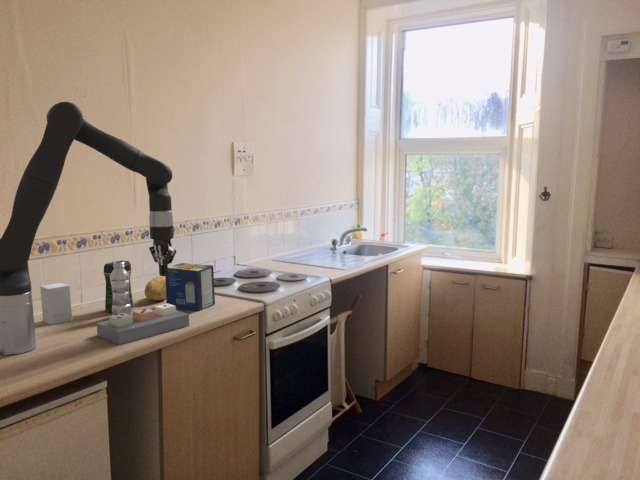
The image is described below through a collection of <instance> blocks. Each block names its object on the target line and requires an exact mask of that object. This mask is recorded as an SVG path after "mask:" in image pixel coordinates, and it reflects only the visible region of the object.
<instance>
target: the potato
mask: <svg viewBox="0 0 640 480" xmlns="http://www.w3.org/2000/svg"><path fill="white" fill-rule="evenodd" d="M144 295H145V297H146V298H147V299H148V300H151V301H162V300H164V299H166V279H165V276H160V275H159V276H155V277H153V278H152V279H150V280H149V281H147V284H146V285H145V287H144Z"/></svg>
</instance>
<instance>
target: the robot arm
mask: <svg viewBox="0 0 640 480" xmlns="http://www.w3.org/2000/svg"><path fill="white" fill-rule="evenodd" d="M74 141H77V142H79V143H81V144H84V145H85V146H87V147H90V148H91V149H93V150H95V151H97V152H98V153H100V154H102V155H104V156H105V157H107V158H108V159H110V160H112V161H114V163H117V164H118V165H120V166H122V167H123V168H126V169H128V170H129V171H131V172H134V173H137V174H140V175H141V176H142V177H144V178H145V181H146V188H147V193H148V200H149V201H148V205H149V206H148V207H149V208H148V209H149V215H148V216H149V217H148V222H149V223H148V224H149V225H148V227H149V238H150V239H151V240H152V241H153V242H152V246H149V252H150V254H151V257H152V259H153V261H154V263H157V265H158V274H159V276H167V275H168V267H169V266H168V265H169V264H172V263H173V261H174V258H175V256H176V254H177V250H176V249H174V248H173V247H172V241H171V240H172V239H174V237H175V236H174V235H175V234H174V216H173V210H172V197H171V194H170V193H169V189H168V185H169V184H170V183H171V181H172V179H173V171H172V169H171V168H170V166H169V165H167V163H164V162H162V161H160V160H158V159H156V158H154V157H152V156H150V155H149V154H146V153H145V152H143V151H141V149H138V148H137V147H135V146H133V145H132V144H129V143H128V142H127V141H124V140H122V139H121V138H118V137H117V136H114V135H111V134H110V133H107V132H105V131H103V130H101V129H99V128H97V127H96V126H94V125H93V124H91V123H89V121H87V120H86V119H85V118H84V115H83V113H82V111H81V109H80V107H78V105H76V104H75V103H73V102H69V101H60V102H57V103H55V104H54V105H52V107H50V108H49V110H48V111H47V113H46V126H45V129H44V133H43V136H42V139H41V141H40V143H39V145H38V147H37V149H35V150H36V151H35V152H34V154H33V155H32V157H31V159H30V160H29V162H28V163H27V165H26V168H25V170H24V171H23V173H22V176H21V179H20V180H19V183H18V186H17V189H16V191H15V192H16V193H15V196H14V201H13V205H12V211H11V215H10V219H9V222H8V223H7V226H6V228H5V230H4V232H3V233H2V236H1V237H0V354H2V355H4V356H8V355H19V354H23V353H27V352H30V351H33V350H34V349H35V348H36V347H37V342H36V341H37V340H36V328H35V327H36V326H35V317H34V304H33V291H32V281H31V278H30V277H31V276H30V271H29V270H30V269H29V260H30V256H31V253H32V248H33V245H34V241H35V239H36V234H37V231H38V230H39V226H40V224H41V223H42V220H43V219H44V216H45V215H46V212H47V210H48V209H49V206H50V204H51V201H53V198H54V194H55V192H56V190H57V188H58V185H59V182H60V179H61V176H62V174H63V170H64V166H65V163H66V158H67V157H68V156H67V155H68V153H69V150H70V149H71V146H72V144H73V142H74Z"/></svg>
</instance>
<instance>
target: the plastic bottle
mask: <svg viewBox="0 0 640 480" xmlns="http://www.w3.org/2000/svg"><path fill="white" fill-rule="evenodd" d="M124 261H125V260H122V261H121V260H116V261H112V262H113V268H114V270H113V271H112V273H111V274H110V282H111V286H112V292H113V305H112V313H111V314H112V316H114V315H119V314H123V313H125V314H128V315H132V312H133V311H132V309H133V308H131V304H130V299H129V274H128V272H127V271H126V270H125V269H124V267H125V262H124Z"/></svg>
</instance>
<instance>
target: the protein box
mask: <svg viewBox="0 0 640 480" xmlns="http://www.w3.org/2000/svg"><path fill="white" fill-rule="evenodd" d="M214 275H215V274H214V265H212V264H199V263H198V264H197V263H185V262H181V263H177V264H174V265H169V266H168V275H167V276H165V279H166V297H165V302H166V303H165V304H167V303H168V304H171V305H175V306H176V309H182V310H190V311H195V312H200V311H202V310H205V309H207V308H209V307H211V306H214V305H216V304H215V303H216V299H215V297H216V296H215V295H216V294H215V277H214Z"/></svg>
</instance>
